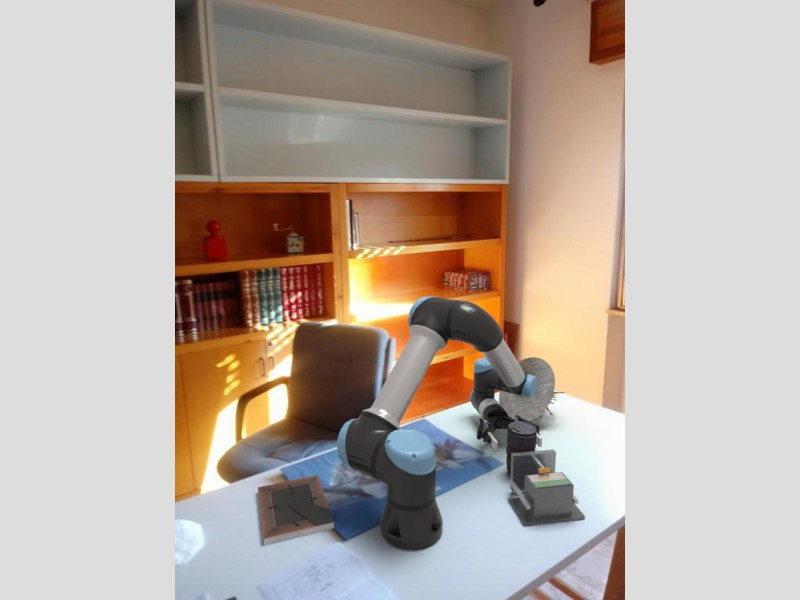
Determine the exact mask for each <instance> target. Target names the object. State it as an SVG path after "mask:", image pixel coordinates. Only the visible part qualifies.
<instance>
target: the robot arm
mask: <svg viewBox="0 0 800 600" xmlns="http://www.w3.org/2000/svg"><path fill="white" fill-rule="evenodd" d="M408 313H409V314H408V316H409V317H408V319H407V322H408V327H409V329H408V332H409V335H410V337H409V339H408V341H407V343H406V344H405V346H404V348H403V350H402V351H401V353H400V355H399V357H398V358H397V360H396V362H395V363H394V365H393V368H392V369H391V371H390V372H389V374H388V377H387V378H386V380H385V382H384V384H383V385H382V386H381V388H380V390H379V392H378V394H377V396H376V398H375V399H374V402H373V403H372V405H371V407H369V408H366V409H363V410H361V413H360V415H359V416H358V418H352V419H349V420H348V421H346V422H345V423H344V424H343V425H342V427H341V429H340V431H339V433H338V436H337V441H336V448H337V451H336V452H337V456H338V458H339V460H340V461H341V463H343V465H345V466H347V467H349V468H350V469H351V470H352V471H354V472H355V471H356V472H359V473H361V474H364V475H365V476H367V477H370V478H372V479H373V480H376V481H378V482H381V483H382V484H385V485H386V501H385V503H384V505H383V506H384V507H383V510H382V512H381V515H380V520H379V531H380V534H381V536H382V538H383V540H385V542H386V543H388V544H389V545H391V546H393V547H395V548H399V549H401V550H408V551H413V550H414V551H416V550H422V549H426V548H428V547H430V546H433V545H434V544H435V543H436V542H437V541H439V540H440V538H441V536H442V534H443V530H444V529H443V523H444V522H443V516H442V514H441V511H440V508H439V505H438V502H437V499H436V478H437V477H436V474H437V473H436V472H437V469H436V468H437V467H436V465H437V457H436V456H437V455H436V448H435V447H436V446H435V444H434V442H433V440H432V439H431V438H430V437H429V436H428V435H427V434H425V433H423V432H421V431H419V430H415V429H412V428H411V429H409V430H407V429H406V428H401V426H400V423H401V421H402V419H403V418H404V416H405V413H406V412H407V410H408V408H409V407H410V404H411V403H412V401H413V398H414V397H415V395H416V393H417V392H418V391H417V390H418V389H419V387H420V385H421V384H422V381H423V379H424V378H425V375H426V373H427V371H428V370H429V368H430V365H431V364H432V361H433V360H434V357H436V354H437V352H440V351H443V350H445V348H446V346H447V345H448V342H449V341H455V342H461V343H465V344H468V345H470V346H471V347H473V348H474V350H476V351H477V352H480V353H481V354H482V355H483V356H484V357H481V358H477V359H475V360H474V365H473V370H472V371H473V389H472V390H471V392H470V394H469V401H470V403H471V404H472V407H473V408H474V409H475V410H476V411H477V412H478V414H479V415H480V418H478V427H477V429H476V439H477V440H481V439H482V442H483V443H487V444H488V445H490V446H491V448H492V449H493V451H494V452H498V451H499V449H498V448H499V442H498V441H497V439H496V438H495V437H494V435H493V434H494V433H495V432H497V430H508V427H509V424H510V423H512V422H516V421H520V422H526V423H529V424H532V425H533V426H535V428H536V433H537V440H536V445H537V446H538V448H542V446H543V437H541V433H540V431H541V430H540V428H541V427H540V426H541V425H538V424H536V423H534V422H532V421H527V420H525V419H523V418H521V417H520V416H518V415H516V416H515V418H511V417H509V416H508V414H507V412H506V411H505V410H504V409H503V407H502V406H501V405H500V403H499V402H498V401H497V400H496V396H495V395H496V392H495V391H498V392H500V391H503V392H507V393H511V394H515V395H518V396H521V397H522V396H523V397H528V398H530V397H532V396H533V395H534V394H535V392H536V389H537V379H536V377H535V376H533V375H530V374H525V373H524V371H523V369H522V368H521V366H520V365H519V363H518V362H519V361H518V360H517V358H516V357H515V355H514V354H513V352H512V350H511V348H510V347H509V345H508V344H507V342H506V340H505V339H504V331H503V330H502V328H501V326H500V324H499V323H498V322H497V321H496V319H495V318H494V317H493V316H492V315H491V314H490V313H489V312H487V311H486V310H485V309H484V308H482V307H481V306H480V305H477V304H476V303H474V302H471V301H468V300H459V299H451V298H444V297H439V296H436V295H435V296H434V295H433V296H423V297H420V298H418V299H417V300H416V301H415V302H414V303H413V304H412V306H411V308H410V310H409V312H408ZM486 426H487V427H486ZM485 427H486V428H485Z"/></svg>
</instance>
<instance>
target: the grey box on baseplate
mask: <svg viewBox="0 0 800 600" xmlns="http://www.w3.org/2000/svg"><path fill="white" fill-rule="evenodd" d="M574 486H575V485H574V484H573V483H572V482H571V480H570V479H569V478H568V477H567V476H566V474H564V473H563V472H562V471H555V473H545V474H536V475H526V476H525V487H524V491H523V495H524V497H525V498H526V500H527V501H528V503H529V504H530V506H531V507H530V509H526V507H525V506H524V504H523V503H522V501H521V500H520V498H519V497H518V496H517V497H511V498H510V497H509V498H507V503H508V504H509V505H510V506H511V508H512V511H514V513H515V515H516V516H517V518H518V520H519V522H520V523H521V524H522V526H523V527H531V526H538V525H548V524H555V523H563V522H572V521H580V520H585V519H586V515H585V514H584V513H583V512H582V511H581V509H580V508H579V507H578V506H577V504H575V503H574V502H573V494H574V488H575V487H574Z"/></svg>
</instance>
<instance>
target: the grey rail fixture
mask: <svg viewBox="0 0 800 600" xmlns="http://www.w3.org/2000/svg"><path fill="white" fill-rule="evenodd" d="M556 459H557V451H555V449H545V450H543V449H541V450H535V451H530V452H520V453H511V475H510V476H509V478H510V480H509V489H510V491H511V492H512V493H515V494H516V495H517V498H518V497H519V498H520V500H521V501H522V503H523V504H524V506H525V507H526V509H530V507H531V506H530V504H529V503H528V501H527V500H526V498H525V497H524V493H523V492H524V487H525V476H526V475H536V474H545V473H555V472H556V463H557V461H556ZM522 491H523V492H522ZM573 502H574V504H575V505H577V504H579V502H580V501H579V499H578V497H576V495H575V494H574V493H573Z"/></svg>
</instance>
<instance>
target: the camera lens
mask: <svg viewBox="0 0 800 600" xmlns="http://www.w3.org/2000/svg"><path fill="white" fill-rule="evenodd" d="M506 430H507V434H506V447H505V454H506V460H505V461H506V462H505V463H506V470H507V474H508V477H510V475H511V453H520V452H530V451H536V448H537V446H536V445H537V444H536V440H537V433H536V428H535V426H533V425H532V424H529V423H526V422H520V421H516V422H512V423H510V424H509V427H508V429H506Z"/></svg>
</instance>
